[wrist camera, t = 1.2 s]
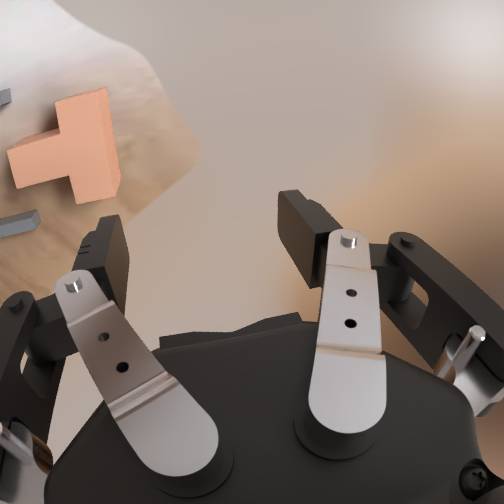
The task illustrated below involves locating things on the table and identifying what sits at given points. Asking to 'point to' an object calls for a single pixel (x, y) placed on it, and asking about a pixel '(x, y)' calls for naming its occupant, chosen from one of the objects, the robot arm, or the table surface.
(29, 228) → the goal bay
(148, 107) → the table surface
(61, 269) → the table surface
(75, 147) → the t block
